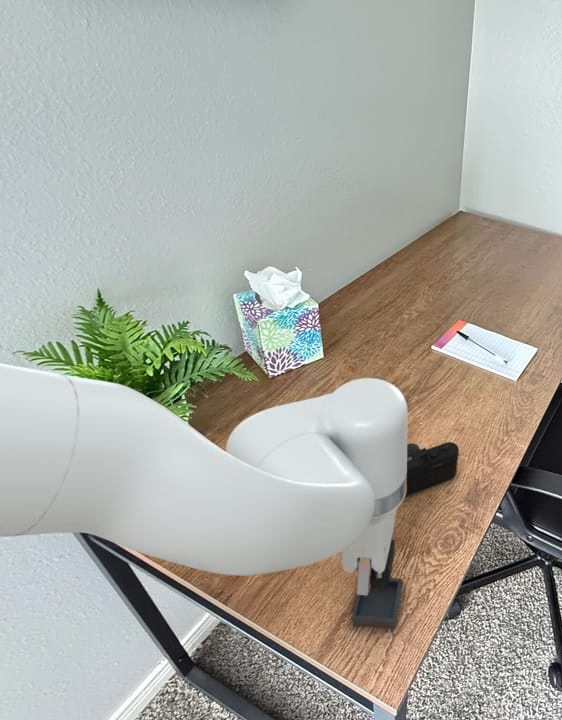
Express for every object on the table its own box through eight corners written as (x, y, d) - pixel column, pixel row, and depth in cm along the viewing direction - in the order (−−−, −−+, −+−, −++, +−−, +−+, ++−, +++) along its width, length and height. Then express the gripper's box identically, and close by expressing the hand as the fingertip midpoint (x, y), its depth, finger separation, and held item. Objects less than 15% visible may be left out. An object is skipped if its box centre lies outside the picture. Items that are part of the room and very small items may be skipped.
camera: (445, 450, 92) (448, 422, 87) (462, 477, 87) (466, 449, 82) (375, 475, 85) (374, 446, 80) (390, 505, 81) (389, 477, 76)
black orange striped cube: (389, 582, 60) (389, 569, 57) (358, 580, 59) (356, 566, 57) (394, 553, 63) (394, 539, 60) (365, 550, 62) (363, 536, 60)
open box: (395, 629, 65) (395, 621, 64) (352, 626, 65) (351, 618, 64) (402, 586, 70) (402, 578, 69) (362, 583, 70) (361, 575, 68)
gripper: (354, 420, 56) (362, 508, 67) (311, 552, 43) (330, 633, 54) (416, 426, 56) (413, 512, 68) (392, 559, 43) (394, 637, 55)
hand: (376, 565), depth 61 cm, fingers closed on black orange striped cube, 4 cm apart
